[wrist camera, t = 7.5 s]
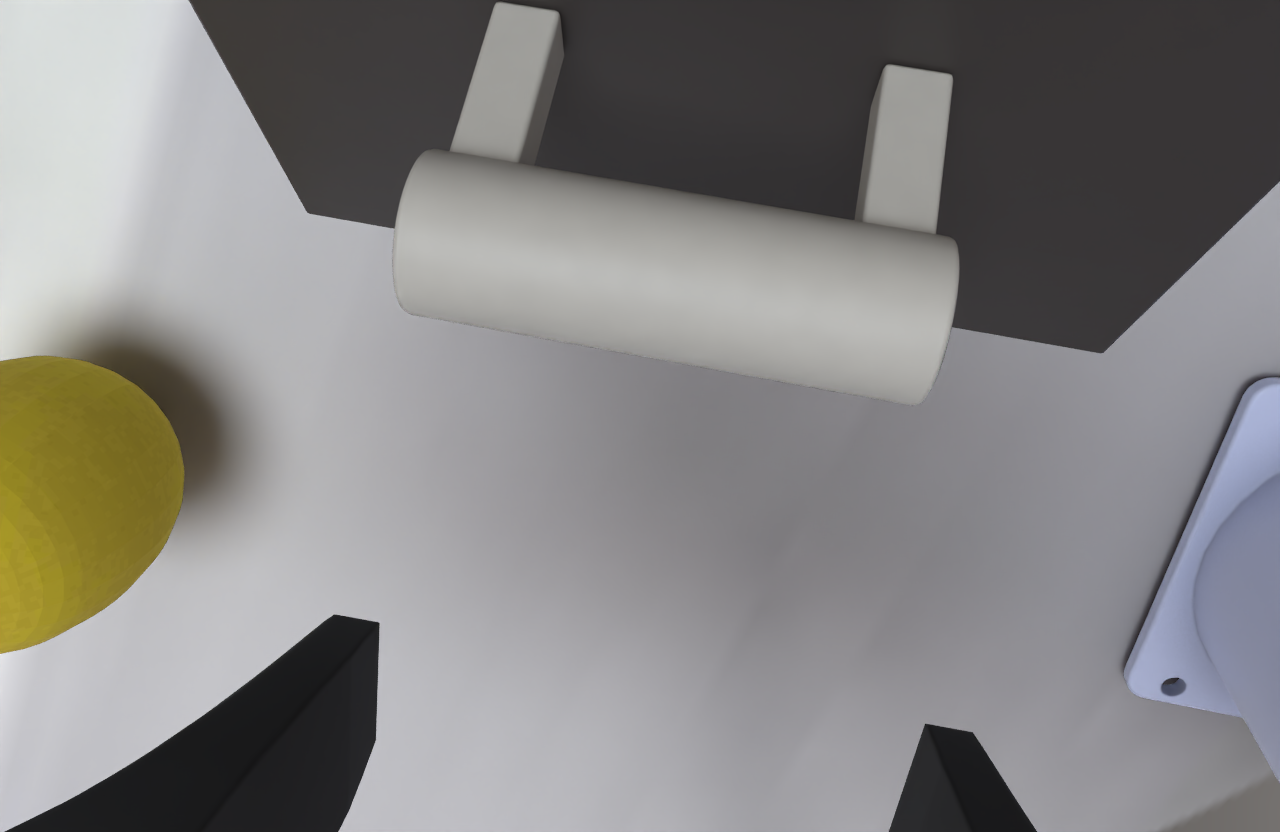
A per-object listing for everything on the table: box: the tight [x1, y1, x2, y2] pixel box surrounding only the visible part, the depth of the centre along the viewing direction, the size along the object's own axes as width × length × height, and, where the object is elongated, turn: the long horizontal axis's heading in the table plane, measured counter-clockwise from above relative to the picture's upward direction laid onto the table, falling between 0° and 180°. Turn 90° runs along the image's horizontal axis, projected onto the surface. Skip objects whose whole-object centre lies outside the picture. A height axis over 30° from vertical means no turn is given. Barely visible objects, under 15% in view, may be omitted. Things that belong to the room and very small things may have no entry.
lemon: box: [0, 356, 184, 654], centre depth 22 cm, size 6×6×8 cm
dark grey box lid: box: [189, 0, 1280, 406], centre depth 9 cm, size 12×12×4 cm
